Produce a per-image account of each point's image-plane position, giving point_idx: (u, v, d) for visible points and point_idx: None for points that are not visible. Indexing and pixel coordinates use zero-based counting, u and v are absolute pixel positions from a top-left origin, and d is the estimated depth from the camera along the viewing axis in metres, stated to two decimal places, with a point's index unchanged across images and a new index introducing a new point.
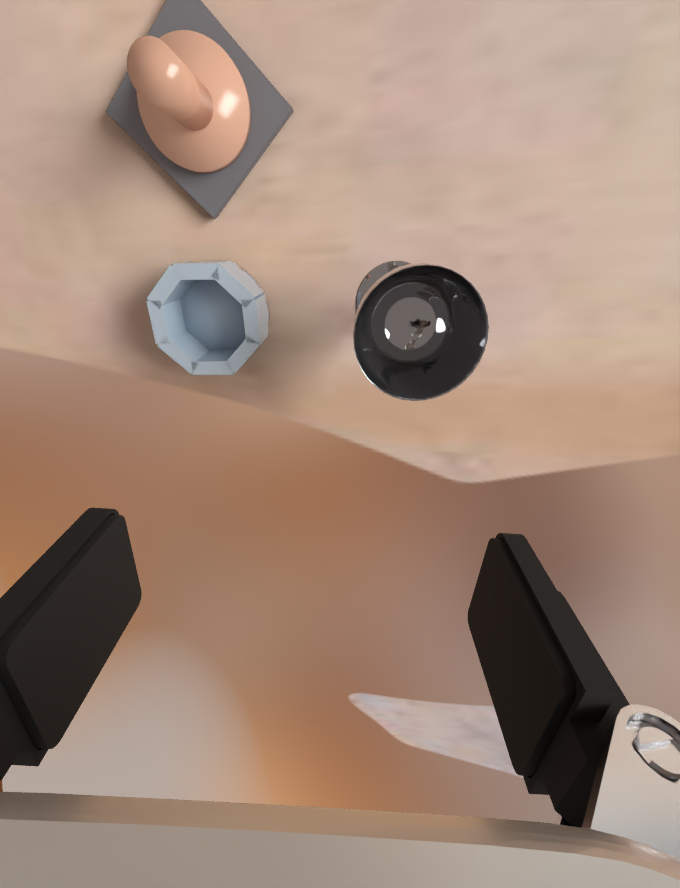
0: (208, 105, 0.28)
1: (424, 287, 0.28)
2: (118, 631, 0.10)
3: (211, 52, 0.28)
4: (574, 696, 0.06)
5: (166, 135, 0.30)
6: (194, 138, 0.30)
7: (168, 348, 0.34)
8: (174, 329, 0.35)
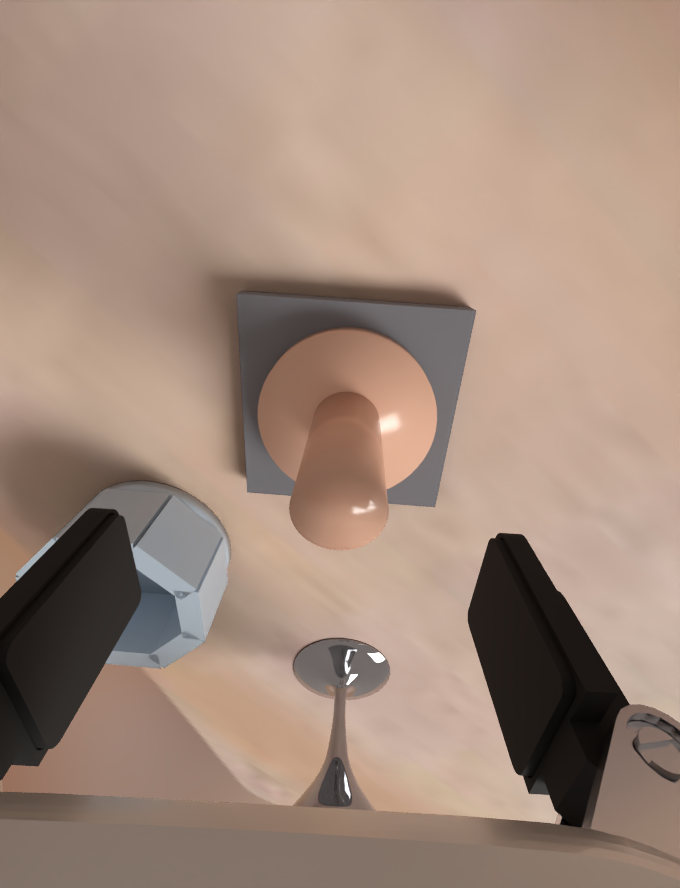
0: None
1: None
2: (118, 631, 0.10)
3: (422, 414, 0.17)
4: (574, 696, 0.06)
5: (282, 410, 0.18)
6: None
7: None
8: None
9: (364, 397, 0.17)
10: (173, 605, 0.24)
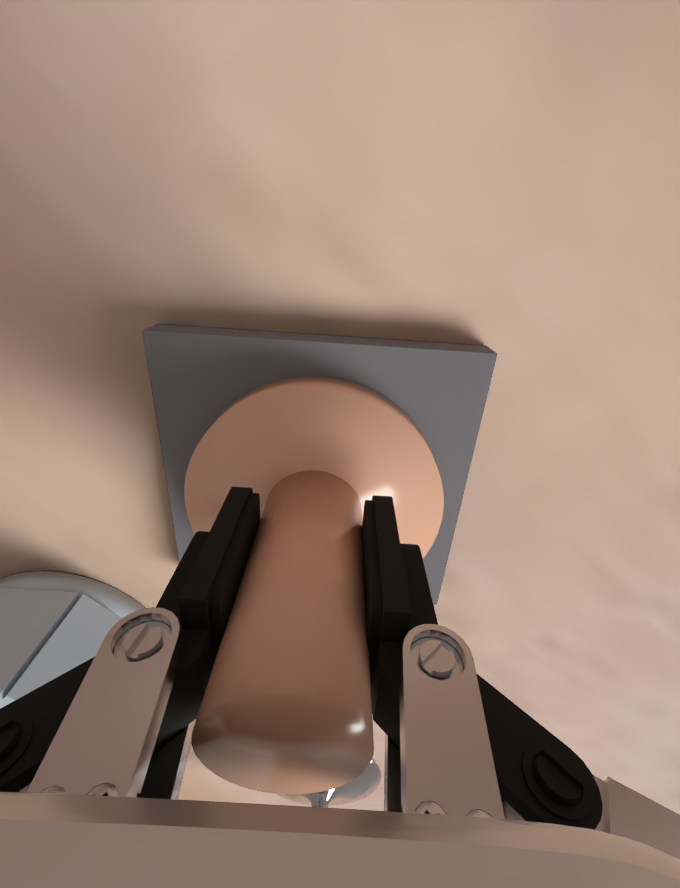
0: None
1: None
2: None
3: (422, 500, 0.12)
4: (380, 618, 0.07)
5: (219, 496, 0.12)
6: None
7: None
8: None
9: (338, 478, 0.12)
10: None
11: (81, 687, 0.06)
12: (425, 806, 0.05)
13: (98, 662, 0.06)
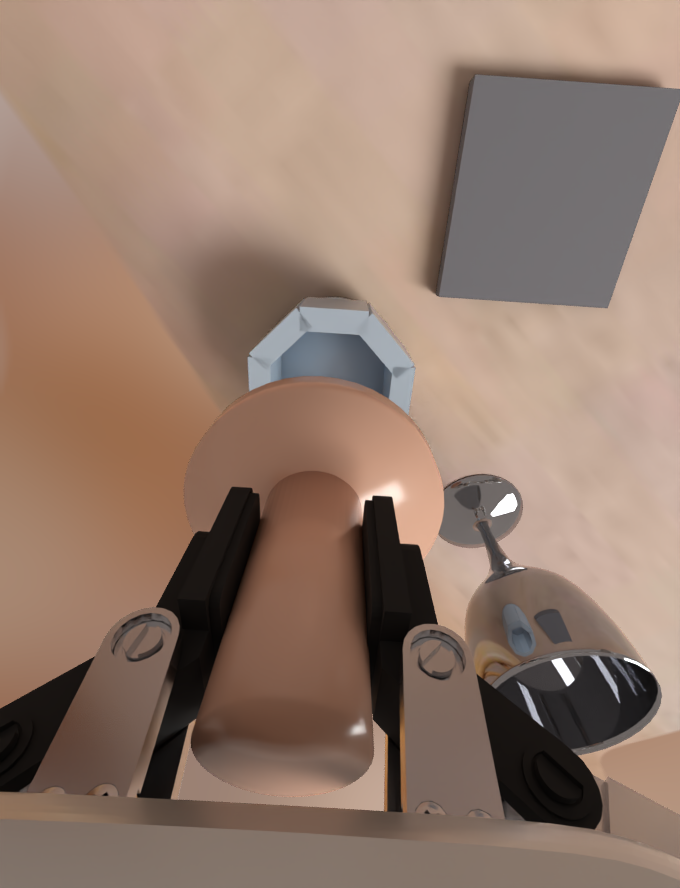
0: None
1: None
2: None
3: (422, 500, 0.12)
4: (380, 618, 0.07)
5: (219, 496, 0.12)
6: None
7: (257, 372, 0.22)
8: None
9: (338, 478, 0.12)
10: None
11: (81, 687, 0.06)
12: (425, 806, 0.05)
13: (98, 662, 0.06)
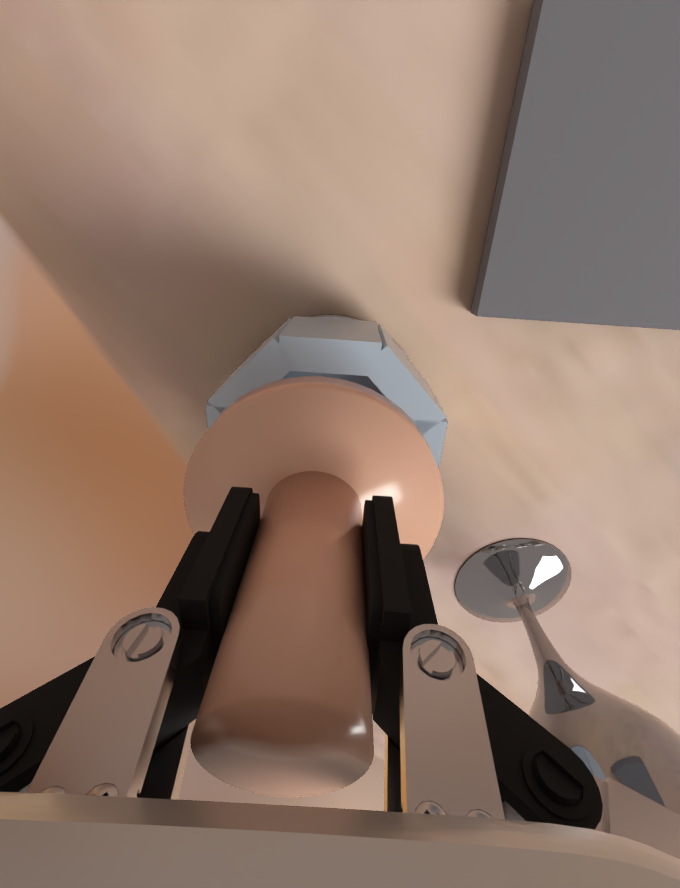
0: None
1: None
2: None
3: (422, 500, 0.12)
4: (380, 618, 0.07)
5: (219, 496, 0.12)
6: None
7: None
8: None
9: (338, 478, 0.12)
10: None
11: (81, 687, 0.06)
12: (425, 806, 0.05)
13: (98, 662, 0.06)
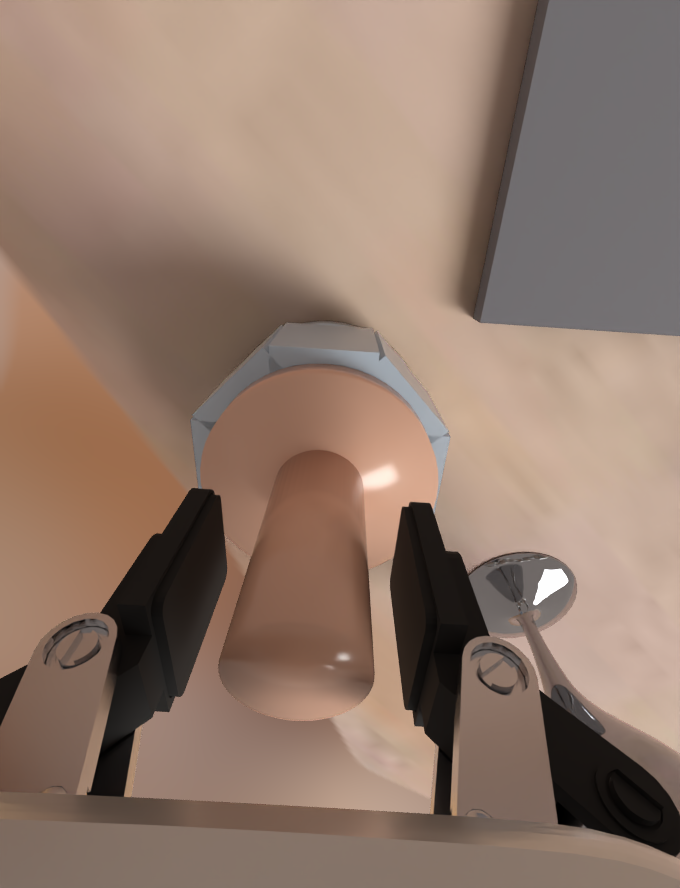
0: None
1: None
2: (214, 600, 0.11)
3: (418, 477, 0.13)
4: (435, 630, 0.07)
5: (232, 474, 0.13)
6: None
7: None
8: None
9: (341, 457, 0.13)
10: None
11: (13, 702, 0.06)
12: (476, 813, 0.05)
13: (29, 675, 0.06)
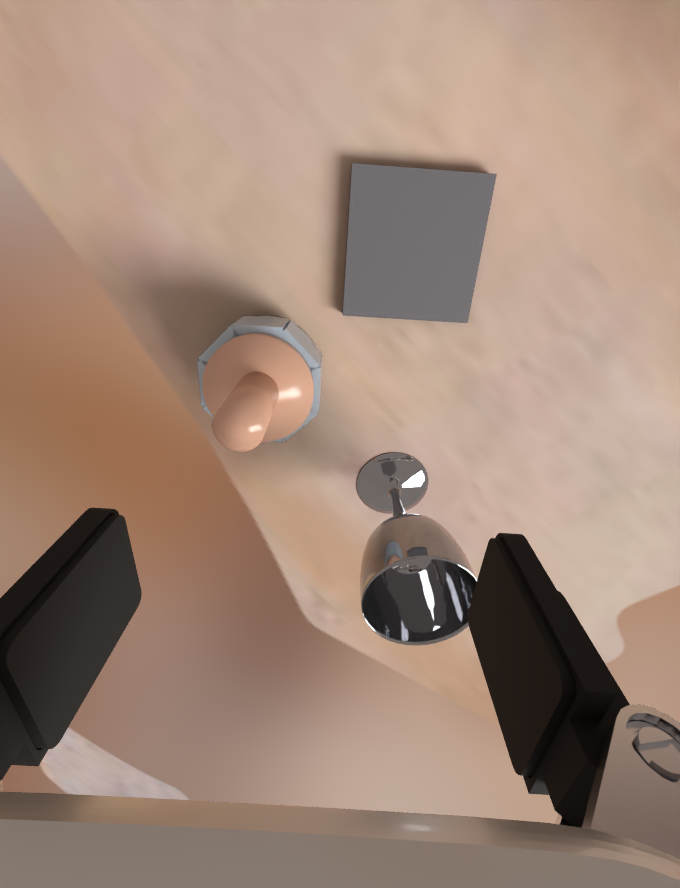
0: None
1: None
2: (118, 631, 0.10)
3: (303, 385, 0.29)
4: (574, 696, 0.06)
5: (217, 384, 0.29)
6: None
7: None
8: None
9: (267, 375, 0.28)
10: None
11: None
12: None
13: None
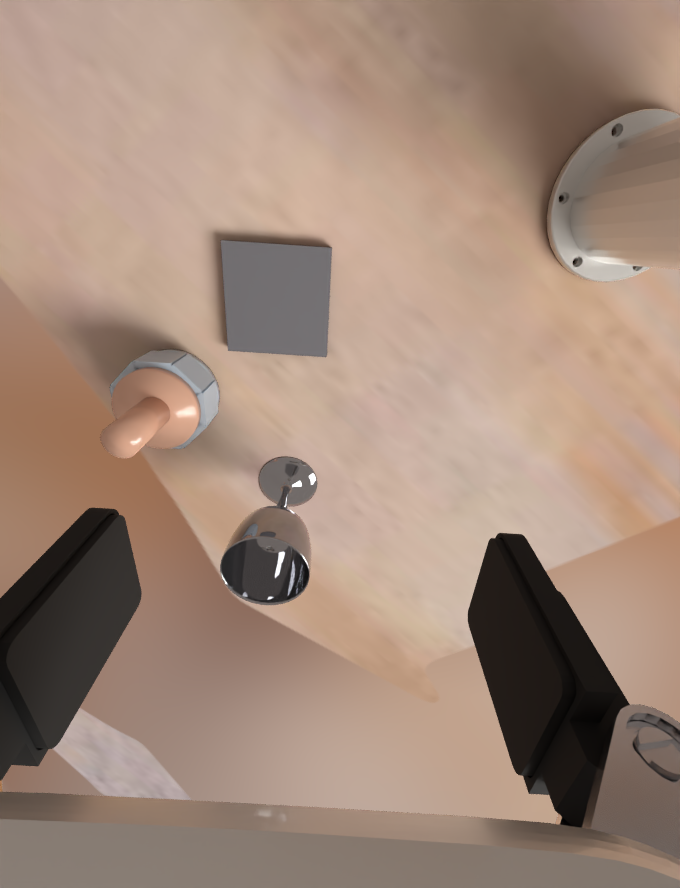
0: None
1: None
2: (118, 631, 0.10)
3: (188, 406, 0.38)
4: (574, 696, 0.06)
5: (123, 405, 0.38)
6: None
7: None
8: None
9: (159, 399, 0.37)
10: None
11: None
12: None
13: None
